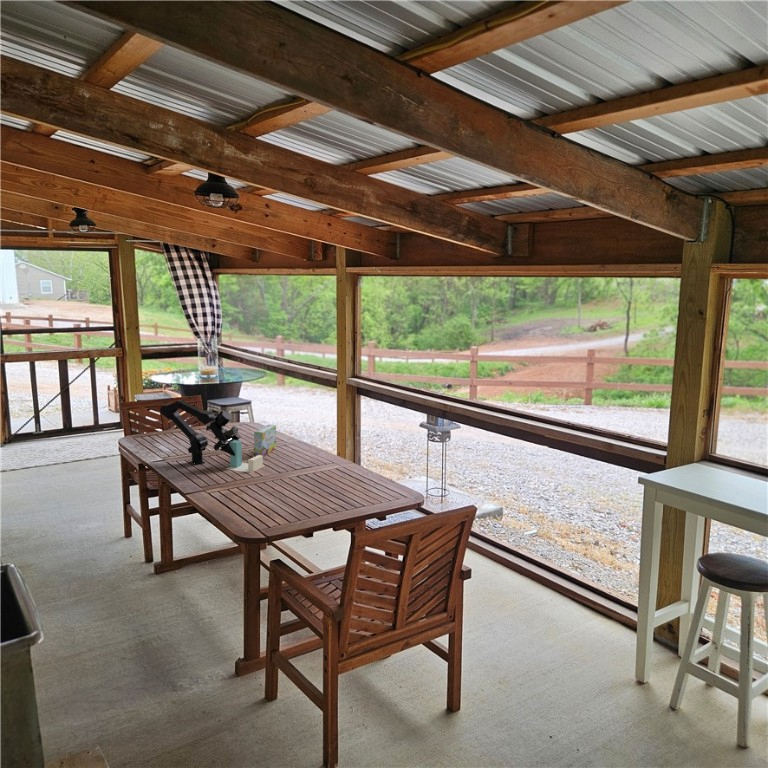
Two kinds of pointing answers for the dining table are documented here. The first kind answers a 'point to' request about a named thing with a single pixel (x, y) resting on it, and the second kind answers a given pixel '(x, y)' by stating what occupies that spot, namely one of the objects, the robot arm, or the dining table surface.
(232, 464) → the tall teal pillar
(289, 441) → the dining table surface
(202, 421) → the robot arm
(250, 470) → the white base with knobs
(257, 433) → the snack box
